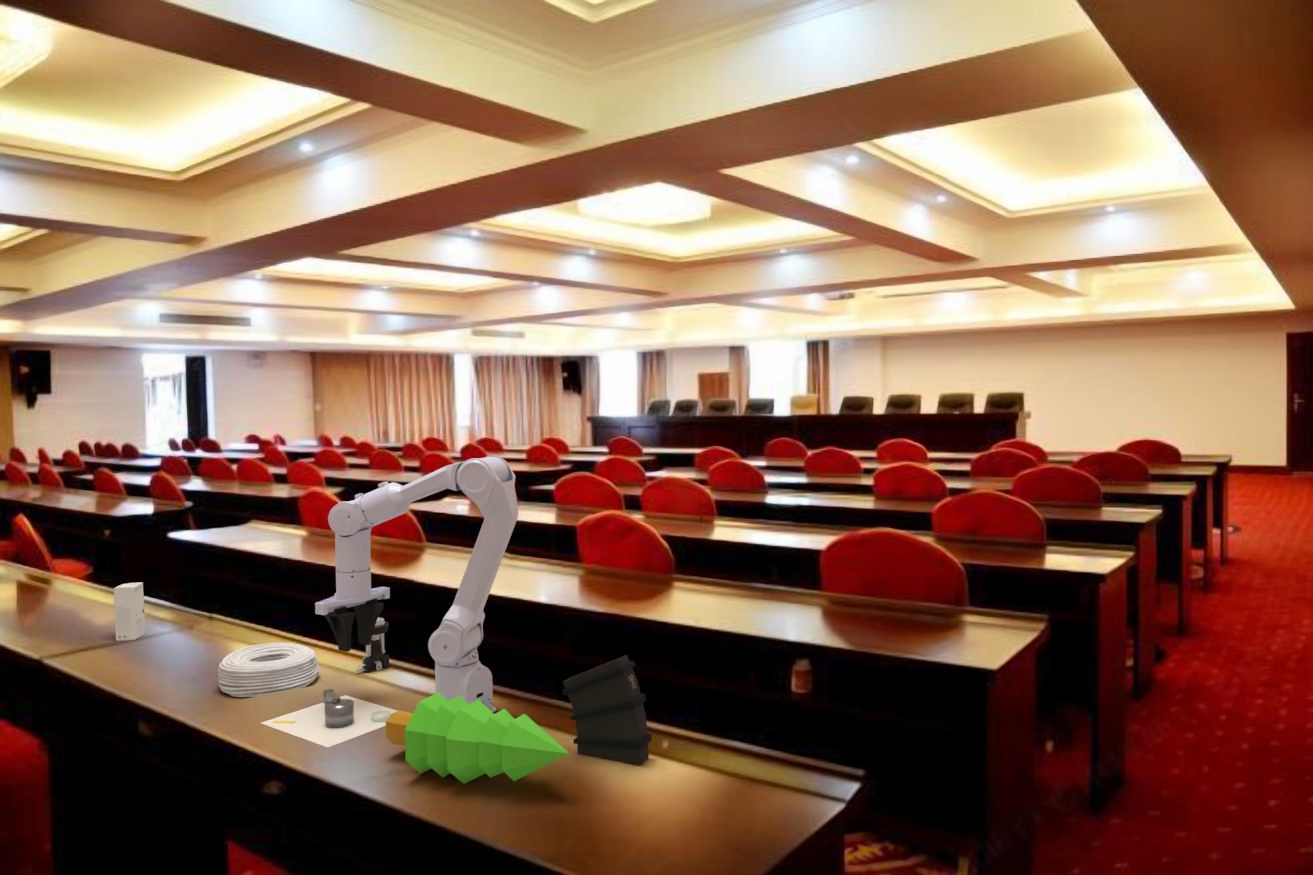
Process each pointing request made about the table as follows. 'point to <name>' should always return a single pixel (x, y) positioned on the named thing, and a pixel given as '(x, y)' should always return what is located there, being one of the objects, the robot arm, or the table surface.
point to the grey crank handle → (337, 709)
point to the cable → (267, 669)
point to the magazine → (609, 712)
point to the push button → (376, 649)
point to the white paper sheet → (314, 729)
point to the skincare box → (129, 611)
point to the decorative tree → (470, 740)
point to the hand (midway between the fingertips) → (354, 647)
